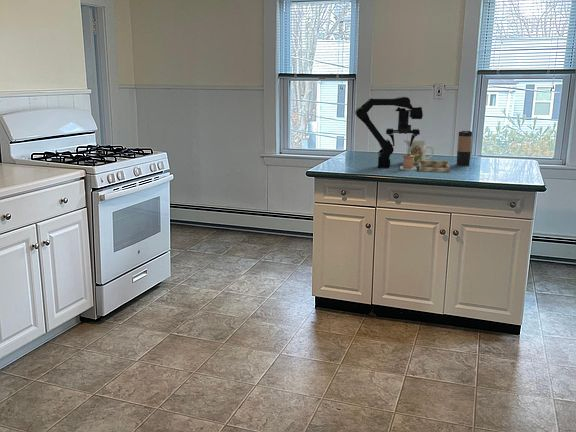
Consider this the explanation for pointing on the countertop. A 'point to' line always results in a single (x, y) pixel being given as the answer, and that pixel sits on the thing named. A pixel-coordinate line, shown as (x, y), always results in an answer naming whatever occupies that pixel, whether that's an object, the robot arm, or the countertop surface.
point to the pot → (408, 160)
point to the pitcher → (418, 150)
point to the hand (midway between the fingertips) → (402, 146)
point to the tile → (408, 168)
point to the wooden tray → (433, 166)
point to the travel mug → (464, 148)
